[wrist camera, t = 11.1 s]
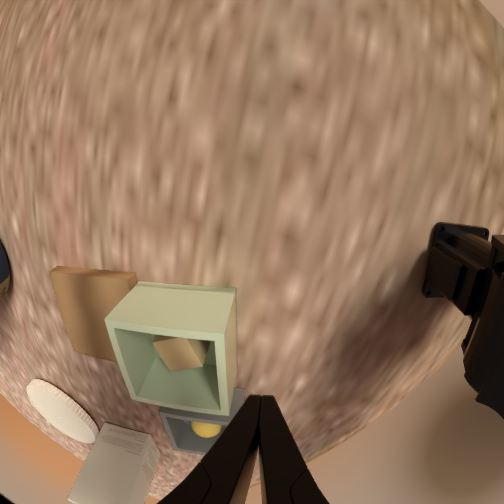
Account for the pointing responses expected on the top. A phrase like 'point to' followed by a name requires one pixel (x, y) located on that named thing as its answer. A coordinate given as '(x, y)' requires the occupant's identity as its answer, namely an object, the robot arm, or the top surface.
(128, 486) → the skincare box
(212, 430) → the ball
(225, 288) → the pale green hollow box
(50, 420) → the plastic lid
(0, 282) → the canister
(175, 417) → the grey open box
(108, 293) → the lid
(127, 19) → the top surface
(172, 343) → the cube
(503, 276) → the robot arm
